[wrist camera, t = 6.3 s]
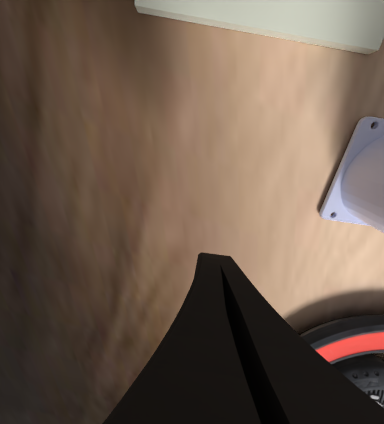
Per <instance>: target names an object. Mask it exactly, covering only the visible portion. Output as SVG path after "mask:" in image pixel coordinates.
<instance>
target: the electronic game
mask: <svg viewBox="0 0 384 424" xmlns="http://www.w3.org/2000/svg"><path fill="white" fill-rule="evenodd" d="M300 336H301V337H302V338H303V339H304V340H305V341H306V342H307V343H308V344H309V345H310V346H311V347H312V348H314V349H315V350H316V351H317V352H318V353H319V354H320V355H321V356H322V357H324V358H325V359H326V360H327V361H328V362H329V363H330V364H331V365H333V366H334V367H335V368H336V369H337V370H338V371H340V372H341V373H342V374H343V375H344V376H346V377H347V378H348V379H349V380H350V381H351V382H353V383H354V384H355V385H356V386H357V387H358V388H360V389H361V390H362V391H363V392H365V393H366V394H367V395H368V396H370V397H371V398H372V399H373V400H375V401H376V402H377V403H378V404H379V405H381V406H382V407H383V408H384V360H383V359H381V358H379V357H377V356H375V355H372V354H371V353H384V315H363V316H353V317H347V318H341V319H337V320H333V321H330V322H327V323H324V324H321V325H319V326H316V327H314V328H312V329H310V330H308V331H306V332H304V333H302V334H301V335H300Z"/></svg>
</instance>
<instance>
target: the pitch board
mask: <svg viewBox="0 0 384 424" xmlns="http://www.w3.org/2000/svg"><path fill="white" fill-rule="evenodd" d="M135 7H136V9H137V11H138V13H144V14H149V15H155V16H160V17H166V18H171V19H177V20H182V21H187V22H193V23H198V24H204V25H209V26H215V27H220V28H226V29H231V30H237V31H242V32H248V33H253V34H259V35H264V36H270V37H275V38H281V39H286V40H292V41H297V42H302V43H308V44H313V45H319V46H324V47H330V48H335V49H341V50H346V51H352V52H357V53H363V54H371V53H373V52H376V51H378V50H379V48H380V46H381V43H382V41H383V38H384V0H135Z"/></svg>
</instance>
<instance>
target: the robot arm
mask: <svg viewBox="0 0 384 424" xmlns="http://www.w3.org/2000/svg"><path fill="white" fill-rule="evenodd" d="M373 122H374V126H373V128H371V124H372V123H373ZM333 212H334V214H333V215H332V216H330V215H331V213H333ZM319 215H320V217H322V218H323V219H326V220H333V221H340V222H347V223H354V224H362V225H369V226H372V227H374V228H375V229H377V230H379V231H381V232H383V233H384V119H383V118H377V117H363V118H361V119H360V120H359V122H358V123H357V126H356V128H355V130H354V133H353V135H352V137H351V140H350V142H349V144H348V147H347V149H346V151H345V154H344V156H343V158H342V161H341V163H340V165H339V168H338V170H337V172H336V175H335V177H334V179H333V182H332V184H331V187H330V189H329V191H328V194H327V196H326V198H325V201H324V203H323V205H322V208H321V210H320V213H319ZM103 424H384V408H383V407H382V406H381V405H379V404H378V403H377V402H376V401H375V400H373V399H372V398H371V397H370V396H368V395H367V394H366V393H365V392H363V391H362V390H361V389H360V388H358V387H357V386H356V385H355V384H354V383H353V382H351V381H350V380H349V379H348V378H347V377H346V376H344V375H343V374H342V373H341V372H340V371H338V370H337V369H336V368H335V367H334V366H333V365H331V364H330V363H329V362H328V361H327V360H326V359H325V358H324V357H322V356H321V355H320V354H319V353H318V352H317V351H316V350H315V349H314V348H312V347H311V346H310V345H309V344H308V343H307V342H306V341H305V340H304V339H303V338H302V337H301V336H300V335H299V334H298V333H297V332H296V331H295V330H294V329H293V328H292V327H291V326H290V325H289V324H288V323H287V322H286V321H285V320H284V319H283V318H282V317H281V316H280V315H279V314H278V313H277V312H276V311H275V310H274V308H273V307H272V306H271V305H270V304H269V303H268V302H267V301H266V300H265V298H264V297H263V296H262V295H261V294H260V293H259V291H258V290H257V289H256V288H255V287H254V285H253V284H252V283H251V282H250V281H249V279H248V278H247V277H246V275H245V274H244V273H243V272H242V270H241V269H240V268H239V267H238V265H237V264H236V263H235V261H234V260H233V259H232V258H231V256H224V255H216V254H209V253H200V254H199V255H198V260H197V265H196V270H195V275H194V280H193V282H192V285H191V288H190V290H189V292H188V294H187V296H186V298H185V301H184V303H183V305H182V307H181V309H180V311H179V313H178V314H177V316H176V318H175V320H174V322H173V323H172V325H171V327H170V328H169V330H168V332H167V333H166V335H165V337H164V338H163V340H162V341H161V343H160V345H159V346H158V348H157V349H156V351H155V352H154V354H153V355H152V357H151V358H150V360H149V361H148V363H147V364H146V366H145V367H144V369H143V370H142V371H141V373H140V374H139V375H138V377H137V378H136V380H135V381H134V382H133V384H132V385H131V387H130V388H129V389H128V391H127V392H126V393H125V395H124V396H123V398H122V399H121V400H120V402H119V403H118V404H117V406H116V407H115V408H114V410H113V411H112V412H111V414H110V415H109V416H108V417H107V419H106V420H105V421H104V422H103Z"/></svg>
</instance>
